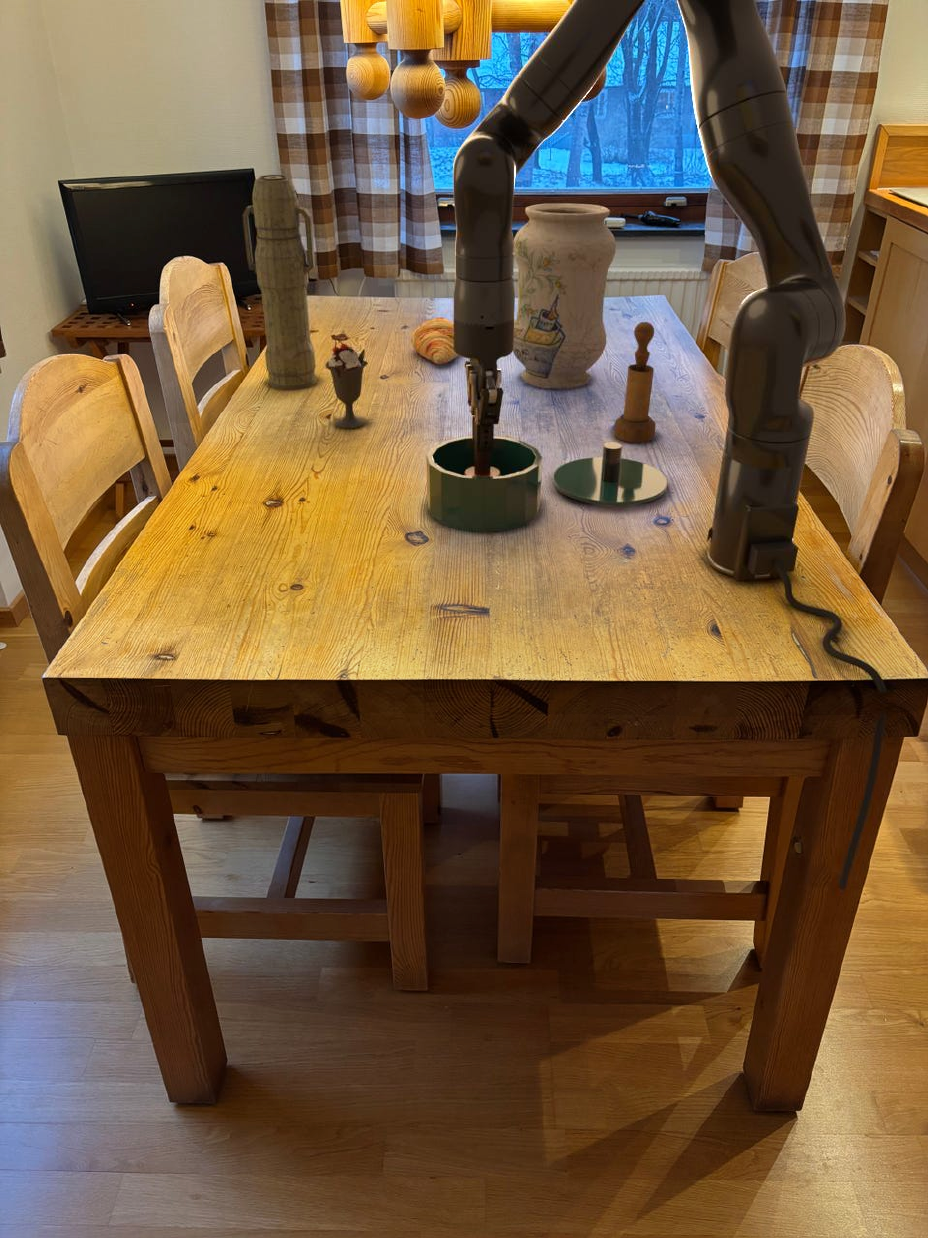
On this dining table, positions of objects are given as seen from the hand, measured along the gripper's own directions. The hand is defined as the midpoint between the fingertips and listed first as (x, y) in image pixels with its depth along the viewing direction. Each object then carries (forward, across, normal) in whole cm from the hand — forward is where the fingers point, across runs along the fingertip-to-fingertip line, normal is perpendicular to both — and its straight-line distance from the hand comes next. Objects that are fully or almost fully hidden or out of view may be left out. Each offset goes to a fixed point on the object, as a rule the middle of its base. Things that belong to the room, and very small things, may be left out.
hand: (482, 446), depth 128 cm
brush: (+8, 0, 0) cm, 8 cm away
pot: (+9, 0, 0) cm, 9 cm away
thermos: (+9, -60, -24) cm, 66 cm away
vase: (+9, -54, +24) cm, 60 cm away
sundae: (+9, -36, -16) cm, 41 cm away
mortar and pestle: (+9, -23, +29) cm, 38 cm away
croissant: (+9, -74, +4) cm, 75 cm away
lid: (+8, -4, +19) cm, 22 cm away
